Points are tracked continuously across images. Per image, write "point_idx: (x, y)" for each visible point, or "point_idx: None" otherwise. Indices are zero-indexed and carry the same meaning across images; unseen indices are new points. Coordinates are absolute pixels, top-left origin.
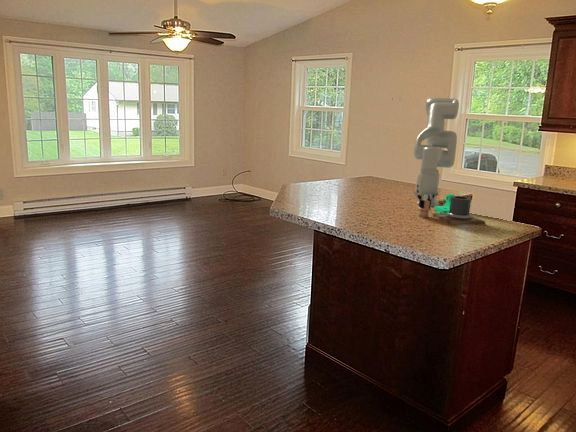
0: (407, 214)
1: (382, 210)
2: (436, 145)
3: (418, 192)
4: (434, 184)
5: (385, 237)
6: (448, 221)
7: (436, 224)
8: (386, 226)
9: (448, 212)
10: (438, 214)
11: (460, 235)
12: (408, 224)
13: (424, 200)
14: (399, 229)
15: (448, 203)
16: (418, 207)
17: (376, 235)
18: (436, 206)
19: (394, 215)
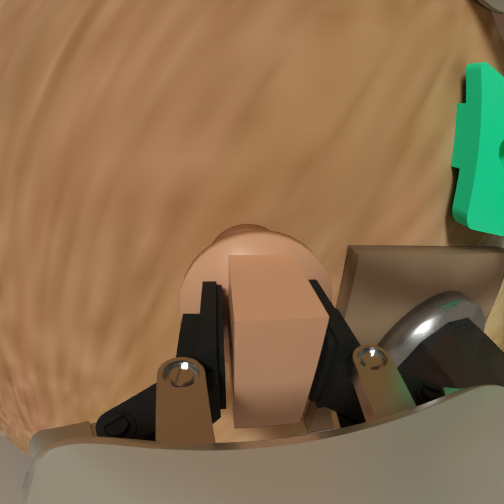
0: (133, 160)
1: (14, 39)
2: None
3: (137, 452)
4: None
5: (26, 447)
6: (313, 407)
7: (224, 419)
8: (5, 393)
9: (402, 357)
10: (372, 292)
11: None
12: (76, 401)
13: (239, 407)
14: (46, 428)
15: None
16: (182, 298)
17: (6, 432)
18: (487, 83)
19: (21, 204)
